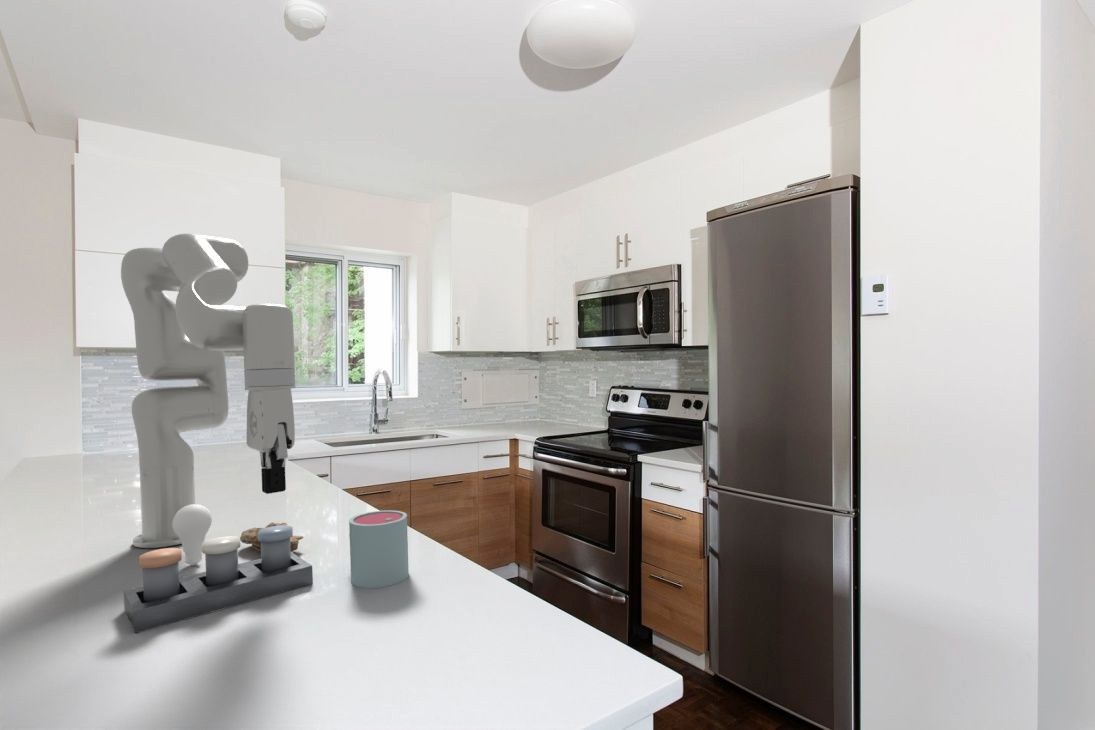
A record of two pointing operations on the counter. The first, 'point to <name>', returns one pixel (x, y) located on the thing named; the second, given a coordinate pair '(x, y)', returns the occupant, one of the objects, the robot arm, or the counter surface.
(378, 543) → the mug
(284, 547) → the light blue cylinder
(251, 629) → the counter surface
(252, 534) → the rock
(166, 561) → the terracotta key
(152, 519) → the robot arm
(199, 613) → the key panel
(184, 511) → the lightbulb
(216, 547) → the cream key
